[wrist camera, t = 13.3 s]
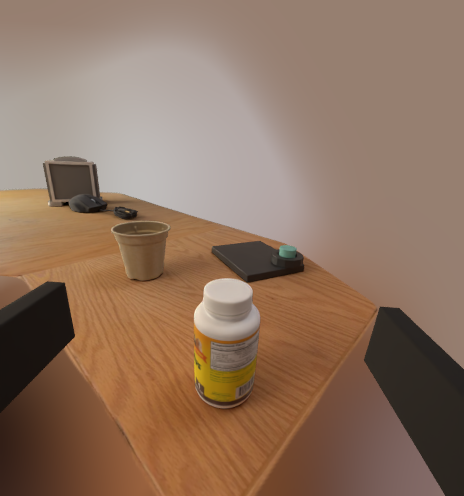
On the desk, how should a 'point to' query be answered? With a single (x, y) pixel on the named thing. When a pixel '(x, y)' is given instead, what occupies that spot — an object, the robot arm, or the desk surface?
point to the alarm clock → (70, 179)
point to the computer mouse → (98, 206)
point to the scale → (257, 260)
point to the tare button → (287, 251)
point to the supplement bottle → (225, 343)
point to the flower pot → (142, 247)
